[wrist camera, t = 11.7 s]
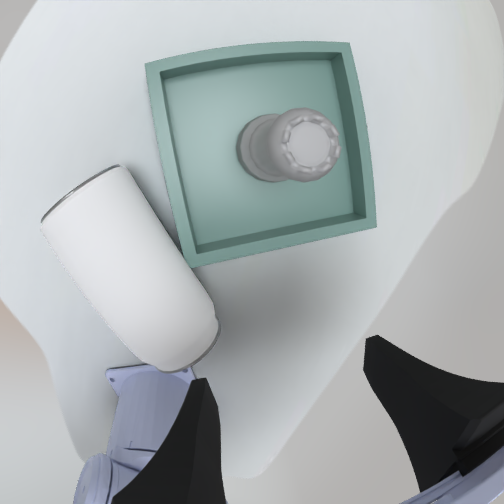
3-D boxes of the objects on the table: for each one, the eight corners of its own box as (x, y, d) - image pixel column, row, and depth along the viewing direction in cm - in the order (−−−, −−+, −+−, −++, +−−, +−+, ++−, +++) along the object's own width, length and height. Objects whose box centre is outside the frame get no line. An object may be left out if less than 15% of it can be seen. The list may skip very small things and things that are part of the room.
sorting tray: (359, 219, 21) (376, 227, 19) (189, 255, 20) (187, 268, 18) (334, 52, 17) (349, 42, 15) (151, 74, 16) (144, 63, 14)
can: (102, 164, 12) (231, 353, 16) (134, 158, 18) (223, 299, 22) (18, 237, 12) (144, 391, 16) (65, 210, 18) (155, 334, 22)
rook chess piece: (288, 106, 17) (341, 79, 10) (311, 168, 19) (374, 178, 12) (224, 128, 17) (238, 108, 10) (250, 192, 19) (280, 216, 11)
